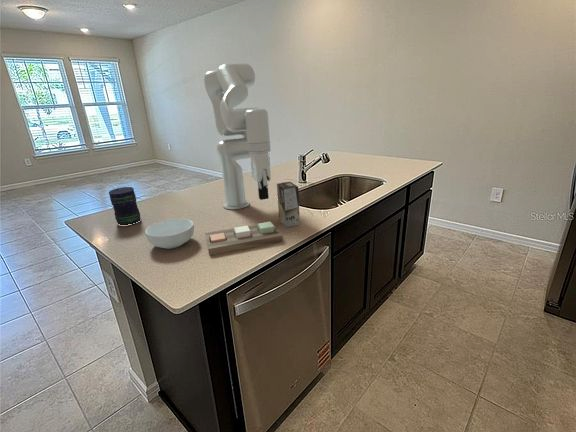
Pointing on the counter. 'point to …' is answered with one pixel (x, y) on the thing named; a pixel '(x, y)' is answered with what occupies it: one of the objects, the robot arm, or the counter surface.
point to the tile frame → (241, 240)
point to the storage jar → (125, 205)
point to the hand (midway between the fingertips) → (263, 198)
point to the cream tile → (242, 232)
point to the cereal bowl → (170, 233)
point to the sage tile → (265, 227)
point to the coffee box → (288, 204)
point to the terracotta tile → (217, 237)
